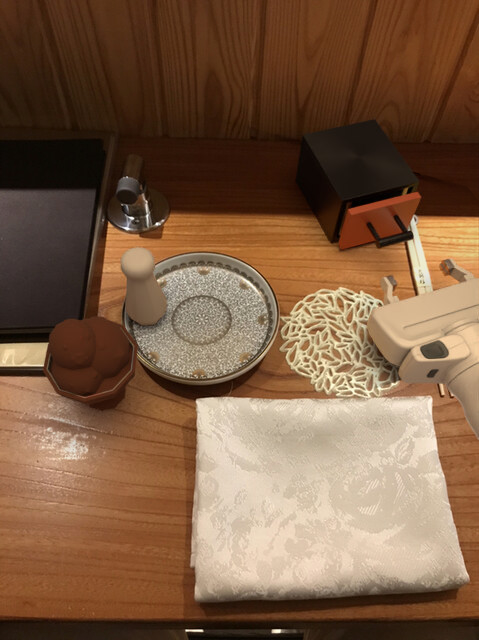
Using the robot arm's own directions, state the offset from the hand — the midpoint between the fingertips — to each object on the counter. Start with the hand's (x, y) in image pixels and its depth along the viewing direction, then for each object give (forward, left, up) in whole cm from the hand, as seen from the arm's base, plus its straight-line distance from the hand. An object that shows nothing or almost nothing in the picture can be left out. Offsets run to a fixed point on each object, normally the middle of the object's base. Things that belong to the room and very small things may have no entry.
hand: (415, 270), depth 79 cm
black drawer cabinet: (+13, -15, -6) cm, 20 cm away
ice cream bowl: (+34, +30, -6) cm, 46 cm away
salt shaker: (+34, +17, -6) cm, 38 cm away
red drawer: (+9, -11, -5) cm, 15 cm away
